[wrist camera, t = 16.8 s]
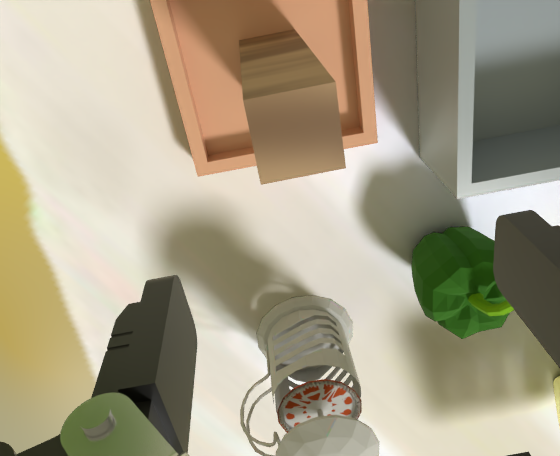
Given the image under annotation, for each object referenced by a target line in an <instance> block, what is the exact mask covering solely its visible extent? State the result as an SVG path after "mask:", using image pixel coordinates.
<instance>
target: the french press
mask: <svg viewBox="0 0 560 456" xmlns="http://www.w3.org/2000/svg"><path fill="white" fill-rule="evenodd" d="M352 337H353V322H352V320H351V318H350V316H349V315H348V313H347V311H346V310H345V308H343V307H342V306H340V305H339V304H337V303H336V302H334V301H333V300H331V299H328V298H323V297H318V296H314V295H310V296H302V297H293V298H291V299H288V300H286V301H284V302H282V303H280V304H277V305H275V306H274V307H273V308H272V309H271V310H270V311H269V312H268V313H267V314H266V315H265V316H264V317H263V318H262V320H261V323H260V326H259V328H258V331H257V339H258V346H259V349H260V350H261V351H262V353H263V354H264V355H265V357H266V358H267V367H268V374H267V375H266V376H265V377H264V378H262V379H261V380H259V381H258V382H256V383H255V384H254V385H253V386H252V387H251V388H250V389H249V390H248V392H247V394H246V396H245V398H244V400H243V402H242V406H241V410H240V416H241V426H242V428H243V431H244V432H245V434H246V435H247V437H248V440H249V442H250V444H251V446H252V447H253V449H254V450H255V452H257V453H259V454H261V455H263V456H273V455H268V454H265V453H264V452H262V451H260V450H259V449H257V447H256V446H255V445H254V443H253V442H252V441H254V442H256V443H257V444H259V445H263V446H267V447H271V446H274V445H275V443H276V442H278V449H277V451H276V456H379V441H378V439H377V437H376V435H375V434H374V432H373V430H372V429H371V428H370V427H369V426H367V425H366V424H364V423H362V422H361V421H359V420H357V419H358V417H359V416H360V414H361V399H360V397H361V388H360V384H359V380H358V377H357V373H356V370H355V366H354V363H353V359H352V356H351V352H350V349H349V343H350V341H351V339H352ZM343 352H344V354H345V355H343V354H342V353H343ZM332 366H334V367H336V368H335V369H334V370H333V371H332V372H331V373H330V374H329V376H328V377H327V378H326V379H324V380H318V379H320V378H321V377H322V376H323V375H324V374H325V373H326V372H327V371H328V370H329V369H330V368H331V367H332ZM341 368H342V369H344V370H343V372H342V373H341V374H340V375H339V376H338V377H337V379H336V380H335V381H333V380H331V379H332V378H333V377H334V376H335V375H336V373H337V372H338V371H339V370H340V369H341ZM347 372H348V373H350V375H349V377H348V378H347V380H346V381H345V382H344V383H342V382H340V381H341V380H342V379H343V377H344V376H345V375H346V374H347ZM270 374H271V384H272V387H271V388H270V389H268V390H267V391H266V392H264V393H263V394H262V395H260V396H259V397H258V399H257V400H256V401H255V402H254V403H253V404H252V407H251V409H250V411H249V414H248V418H247V429H246V427H245V424H244V405H245V403H246V400H247V398H248V395H249V394H250V392H251V391H252V390H253V389H254V388H255V387H256V386H257V385H259V384H260V383H262V382H263V381H264V380H266V379H267V378H268V377H269V376H270ZM288 376H289V377H291V378H293V379H295V380H297V381H302V382H306V383H304V384H302V385H297V384H295V383H293V382H292V381H290V380H288ZM351 380H352V381H353V386H352V388H350V387H349V386H348V385H349V383H350V382H351ZM289 386H291V387H293V389H292V390H290V389H289ZM271 391H272V395H273V396H274V393H275V402H276V412H277V414H278V422H279V424H280V425H281V426H282V427H283V429H284V430H285V431H286V432H287V434H285V435H284V437H283V439H282V441H280V439H279V436H278V434H277V432H274V441H273V443H265V442H260V441H258V440H257V439H255V438H253V437H252V436H251V435H250V429H249V421H250V418H251V414H252V411H253V409H254V407H255V405H256V404H257V402H258V401H259V400H260V399H261V398H262V397H264V396H265V395H267V394H268V393H269V392H271ZM273 403H274V400H273Z"/></svg>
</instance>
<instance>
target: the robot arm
mask: <svg viewBox="0 0 560 456" xmlns="http://www.w3.org/2000/svg"><path fill="white" fill-rule="evenodd" d="M493 272H494V278H495V281H496V284H497V286H498V289H499V290H500V292H501V293H502V295H503V296H504V297H505V298H506V300H507V301H508V302H509V304H510V305H511V306H512V307H513V309H514V310H515V311H516V313H517V314H518V315H519V316H520V318H521V319H522V320H523V322H524V323H525V324H526V325H527V327H528V328H529V329H530V330H531V332H532V333H533V334H534V336H535V337H536V338H537V339H538V341H539V342H540V343H541V345H542V346H543V347H544V348H545V350H546V351H547V352H548V354H549V355H550V356H551V357H552V359H553V360H554V361H555V363H556V364H557V365H558V366H559V368H560V226H551V225H549V224H548V223H547V222H546V221H545V220H544V219H543V218H541V217H540V216H539V215H538V214H537V213H536V212H534V211H532V210H528V211H523V212H517V213H512V214H506V215H501V216H499V217H498V218H497V221H496V228H495V245H494V262H493ZM111 336H112V338H110V340H109V344H108V347H107V351H106V353H105V356H104V359H103V363H102V366H101V369H100V372H99V375H98V378H97V382H96V385H95V388H94V391H93V394H92V398H91V399H89V400H87V401H85V402H84V403H82V404H81V405H80V406H78V407H77V408H76V409H75V410H74V411H73V412H72V413H71V414H70V415H69V416H68V418H67V419H66V421H65V422H64V424H63V426H62V430H61V434H59V435H58V436H56V437H54V438H52V439H50V440H48V441H45V442H43V443H41V444H39V445H37V446H35V447H32V448H30V449H28V450H26V451H23V452H21V453H19V454H16V453H15V451H14V450H13V448H12V447H11V446H10V445H9V444H6V443H4V442H0V456H189V455H188V454H187V453H188V442H189V431H190V420H191V409H192V398H193V386H194V375H195V364H196V353H197V335H196V329H195V324H194V321H193V318H192V315H191V311H190V308H189V305H188V302H187V299H186V296H185V293H184V290H183V287H182V284H181V281H180V279H179V277H178V276H177V275H173V276H168V277H162V278H157V279H152V280H147V281H146V283H145V287H144V291H143V294H142V298H141V302H137V303H132V304H128V306H127V307H126V308H125V309H124V310H123V312H122V313H121V314H120V315H119V316H118V318H117V319H116V321H115V325H114V328H113V331H112V334H111ZM508 456H531V455H530V453H529V452H524V453H519V454H513V455H508Z"/></svg>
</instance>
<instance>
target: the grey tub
mask: <svg viewBox="0 0 560 456" xmlns="http://www.w3.org/2000/svg"><path fill="white" fill-rule="evenodd" d="M415 14H416V50H417V85H418V121H419V157H420V159H421V160H422V161H423V162H424V163H425V164H426V165H427V166H428V167H429V169H430V170H431V171H432V172H433V173H434V174H435V175H436V176H437V178H438V179H439V180H440V181H441V182H442V183H443V184H444V185H445V186H446V188H447V189H448V190H449V191H450V192H451V193H452V194H453V195H454V196H455V198H456V199H461V198H466V197H471V196H477V195H482V194H488V193H493V192H498V191H504V190H509V189H514V188H520V187H525V186H530V185H536V184H541V183H546V182H552V181H557V180H560V0H415Z"/></svg>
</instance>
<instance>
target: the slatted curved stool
mask: <svg viewBox="0 0 560 456" xmlns="http://www.w3.org/2000/svg"><path fill="white" fill-rule="evenodd" d="M553 388H554V394H555V401H556V408H557V414H558V421H559V427H560V376H558V377H557V378H555V380H554V381H553Z"/></svg>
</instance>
